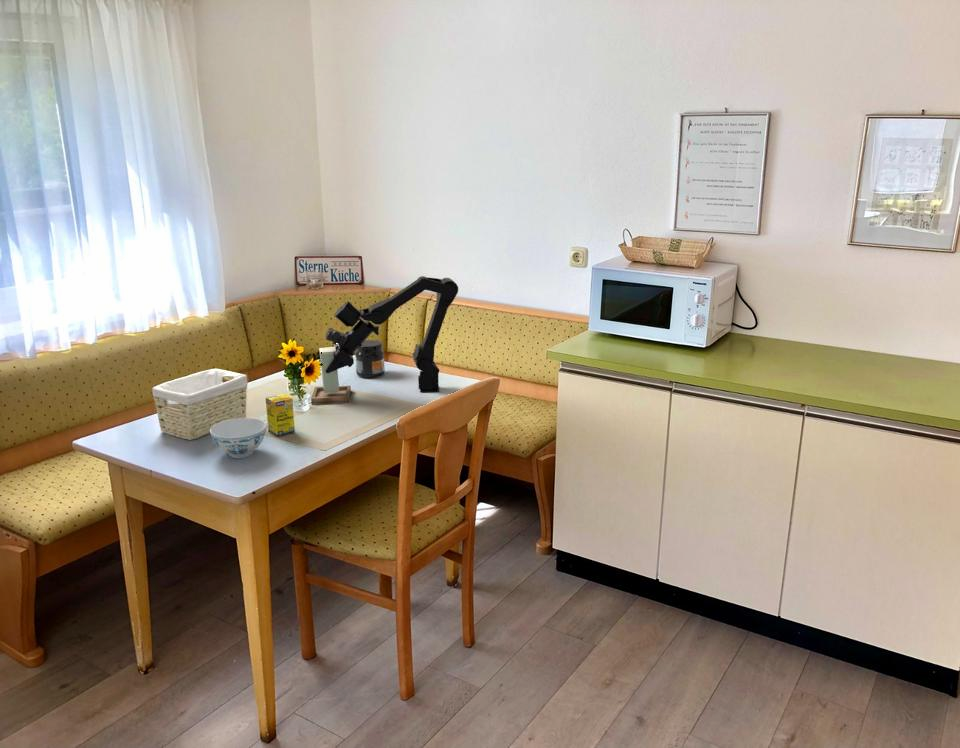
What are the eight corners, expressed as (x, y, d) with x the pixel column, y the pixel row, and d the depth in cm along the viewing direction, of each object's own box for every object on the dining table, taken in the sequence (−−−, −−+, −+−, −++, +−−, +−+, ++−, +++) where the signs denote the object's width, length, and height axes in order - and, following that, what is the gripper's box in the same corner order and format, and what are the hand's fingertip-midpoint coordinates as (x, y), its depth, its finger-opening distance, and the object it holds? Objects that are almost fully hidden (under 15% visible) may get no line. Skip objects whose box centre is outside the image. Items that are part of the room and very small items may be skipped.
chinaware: (278, 445, 226) (275, 420, 224) (252, 466, 212) (249, 439, 210) (230, 440, 230) (228, 416, 227) (202, 461, 216) (199, 435, 213)
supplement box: (277, 437, 232) (274, 402, 229) (268, 431, 236) (264, 397, 233) (295, 432, 236) (292, 397, 232) (286, 426, 240) (283, 392, 237)
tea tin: (338, 386, 268) (334, 346, 263) (339, 391, 263) (336, 351, 258) (323, 388, 267) (319, 348, 262) (323, 393, 262) (319, 352, 257)
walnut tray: (350, 391, 272) (350, 385, 271) (348, 402, 260) (348, 397, 260) (315, 392, 271) (315, 386, 270) (311, 404, 259) (311, 398, 259)
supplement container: (391, 374, 289) (389, 343, 285) (367, 381, 282) (365, 348, 278) (374, 368, 296) (372, 337, 293) (350, 374, 289) (348, 343, 286)
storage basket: (218, 409, 255) (213, 366, 250) (254, 419, 247) (249, 374, 242) (154, 433, 235) (148, 386, 231) (191, 444, 227) (185, 396, 223)
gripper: (336, 313, 267) (305, 347, 268) (341, 326, 250) (308, 363, 251) (361, 334, 271) (331, 367, 272) (367, 349, 254) (334, 384, 255)
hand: (325, 370), depth 262 cm, fingers closed on tea tin, 5 cm apart
